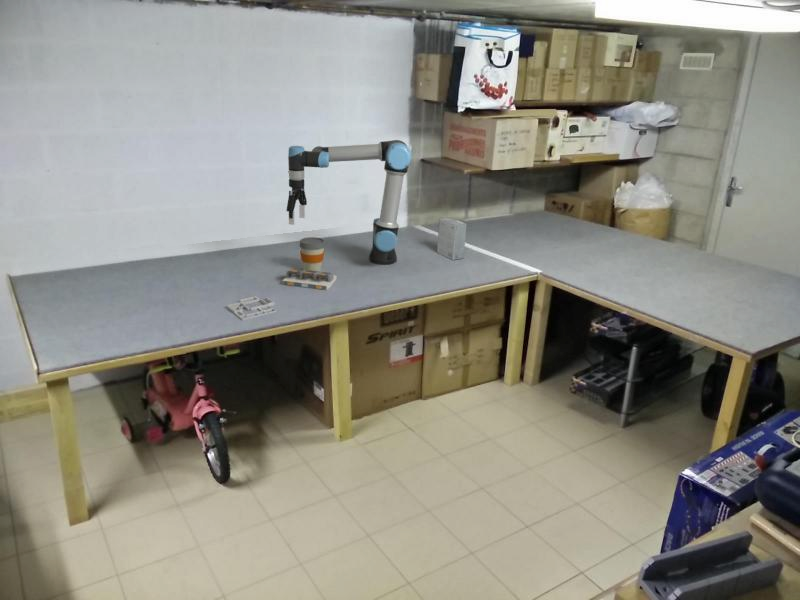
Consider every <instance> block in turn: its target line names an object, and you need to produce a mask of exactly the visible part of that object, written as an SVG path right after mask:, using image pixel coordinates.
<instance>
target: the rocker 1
mask: <svg viewBox="0 0 800 600" xmlns="http://www.w3.org/2000/svg"><path fill="white" fill-rule="evenodd" d="M303 270H304V269H301V268H294V269H293V268H292V270H290V271H289V272H288V273H289V274H299V273H301V272H302V271H303Z"/></svg>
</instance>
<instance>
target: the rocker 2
mask: <svg viewBox="0 0 800 600" xmlns="http://www.w3.org/2000/svg"><path fill="white" fill-rule="evenodd" d="M331 273H332V272H327V271H322V272H320V273H319V274H317V277H322V278H326V277H328V276H329V275H330V274H331Z"/></svg>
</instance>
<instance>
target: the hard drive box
mask: <svg viewBox="0 0 800 600" xmlns="http://www.w3.org/2000/svg"><path fill="white" fill-rule="evenodd" d="M467 225H468V223H465V222H462V221H460V220H457V219H454V218H452V217H451V218H450V217H446V218H445V217H444V218H440V219H439V220H438V235H437V245H436V246H437V249H436V253H437V254H439V255H441V256H442V257H445V258H447V259H449V260H451V261H458V260H461V259H462V260H463V259H464V257H465V256H464V255H465V244H466V234H467V233H466V232H467V227H468V226H467Z"/></svg>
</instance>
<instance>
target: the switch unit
mask: <svg viewBox="0 0 800 600" xmlns="http://www.w3.org/2000/svg"><path fill="white" fill-rule="evenodd" d="M290 270H293V267H290V268H288V269H287V270H286V273H285V274H286V277H285V278H284V279H282V285H284V286H293V287H302V288H308V289H309V288H310V289H318V290H324V291H327V290H329V289H330V287H331V286H332V285H333V284H334V283H335V282H336V280H337V275H336V274H334V272H330V273H331V274H330V275H329V276H328V277H326V278H322V277H317V274H319V273H321V272H320V271H321V270H320V271H317V272H316V273H315V274H314V275H312V276H305V275H302V274H303V272H306V270H304V269H303V271H302V272H301V273H299V274H289V273H288V272H289V271H290Z"/></svg>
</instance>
